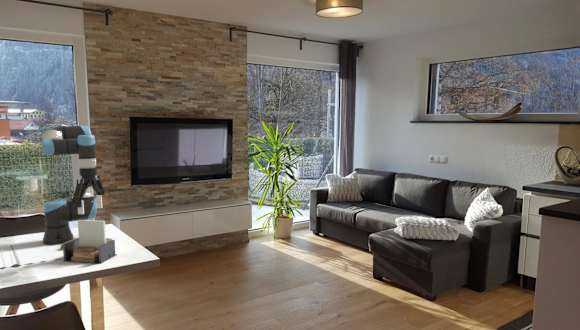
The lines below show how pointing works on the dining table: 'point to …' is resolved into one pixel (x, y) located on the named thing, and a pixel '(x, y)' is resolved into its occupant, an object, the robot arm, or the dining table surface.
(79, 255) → the offcut middle
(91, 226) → the sheet
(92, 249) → the offcut top
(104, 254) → the rack
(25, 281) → the dining table surface
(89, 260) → the offcut bottom
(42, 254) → the dining table surface
